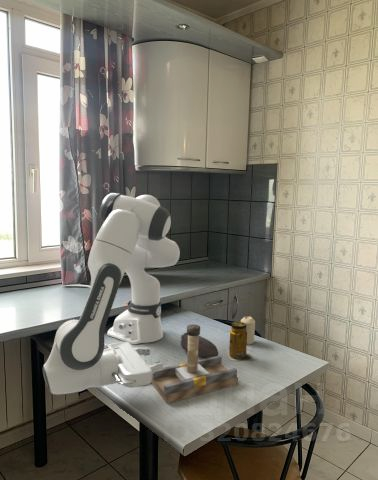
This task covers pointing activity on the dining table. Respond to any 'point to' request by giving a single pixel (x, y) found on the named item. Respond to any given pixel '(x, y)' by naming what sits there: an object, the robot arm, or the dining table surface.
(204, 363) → the press base
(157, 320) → the robot arm
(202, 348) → the perforated stone tool
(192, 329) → the press handle
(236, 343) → the condiment
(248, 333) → the candle
